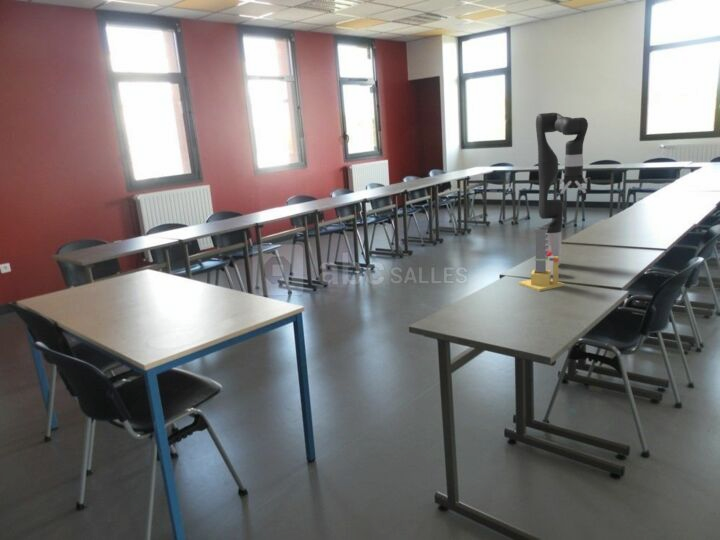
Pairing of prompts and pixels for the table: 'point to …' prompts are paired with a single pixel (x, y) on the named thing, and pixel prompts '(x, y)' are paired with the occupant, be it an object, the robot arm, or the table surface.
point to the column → (541, 249)
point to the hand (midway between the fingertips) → (573, 201)
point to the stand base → (544, 278)
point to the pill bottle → (549, 262)
